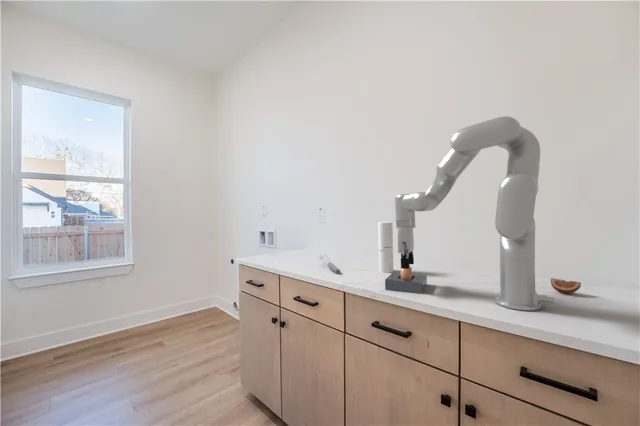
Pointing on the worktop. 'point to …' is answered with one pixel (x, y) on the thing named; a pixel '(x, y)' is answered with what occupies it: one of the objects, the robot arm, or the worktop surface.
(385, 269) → the cylindrical container
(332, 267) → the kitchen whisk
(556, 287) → the fruit slice
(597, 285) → the worktop surface
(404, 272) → the plug
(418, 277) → the socket block
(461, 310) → the worktop surface
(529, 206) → the robot arm
